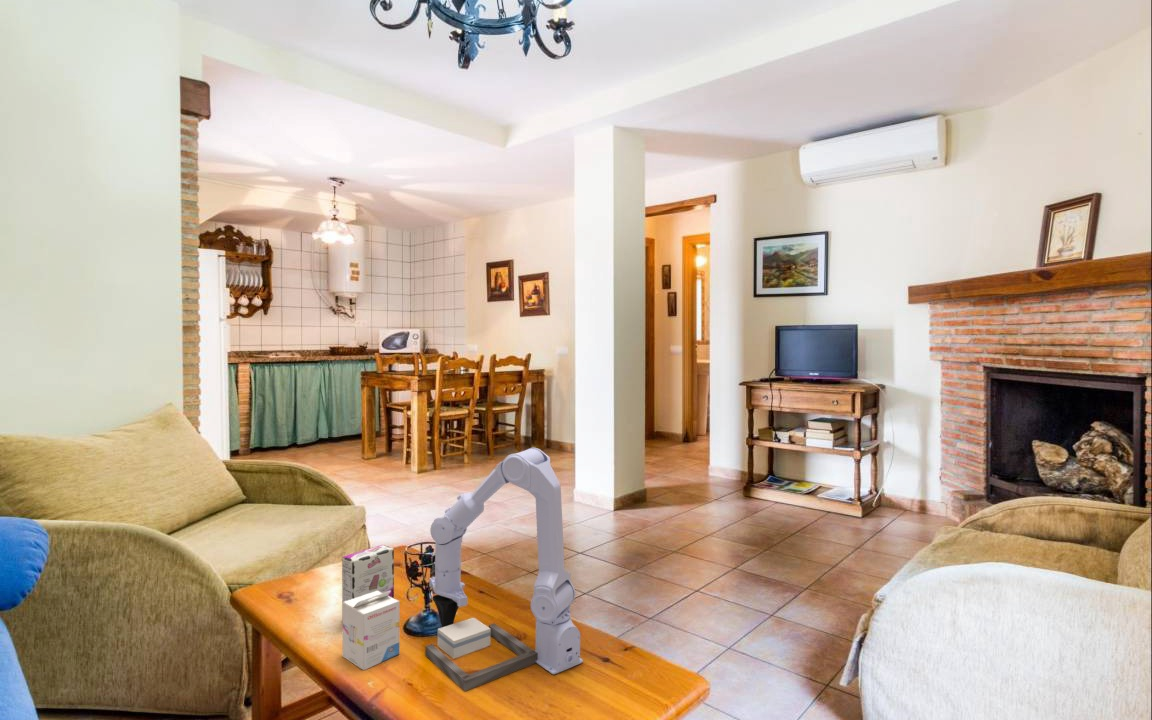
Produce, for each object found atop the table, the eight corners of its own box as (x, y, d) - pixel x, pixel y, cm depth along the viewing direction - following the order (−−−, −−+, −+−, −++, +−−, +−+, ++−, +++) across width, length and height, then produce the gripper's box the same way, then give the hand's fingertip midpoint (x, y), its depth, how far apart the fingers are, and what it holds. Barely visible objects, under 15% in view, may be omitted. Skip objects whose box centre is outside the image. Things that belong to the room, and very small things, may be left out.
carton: (490, 646, 133) (490, 628, 132) (453, 660, 127) (453, 641, 127) (473, 634, 138) (473, 617, 138) (437, 647, 132) (437, 628, 132)
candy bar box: (382, 609, 149) (382, 543, 149) (394, 615, 146) (395, 548, 146) (340, 626, 140) (341, 555, 140) (352, 632, 137) (353, 560, 137)
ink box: (377, 641, 133) (378, 581, 133) (400, 654, 128) (401, 591, 128) (341, 657, 127) (341, 593, 126) (363, 671, 121) (364, 605, 121)
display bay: (537, 662, 126) (537, 653, 126) (464, 691, 115) (465, 680, 115) (494, 632, 139) (494, 623, 139) (425, 655, 128) (425, 645, 128)
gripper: (479, 573, 135) (479, 633, 135) (448, 555, 146) (447, 611, 146) (451, 580, 130) (450, 643, 131) (421, 561, 141) (420, 619, 142)
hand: (447, 627), depth 138 cm, fingers closed
